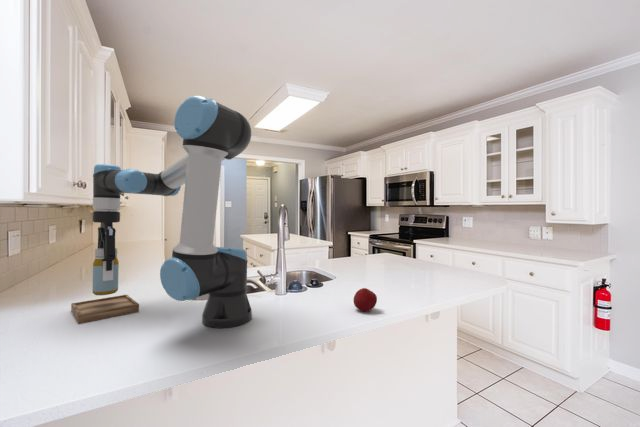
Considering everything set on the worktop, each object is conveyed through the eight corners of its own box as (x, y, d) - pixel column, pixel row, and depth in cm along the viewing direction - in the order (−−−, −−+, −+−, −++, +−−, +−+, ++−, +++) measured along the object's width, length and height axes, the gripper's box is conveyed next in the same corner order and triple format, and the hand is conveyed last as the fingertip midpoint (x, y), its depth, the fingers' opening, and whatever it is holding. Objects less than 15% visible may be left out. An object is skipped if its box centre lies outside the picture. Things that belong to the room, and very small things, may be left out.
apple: (368, 316, 99) (369, 292, 99) (349, 310, 104) (349, 288, 104) (380, 311, 104) (380, 288, 104) (361, 306, 110) (361, 284, 110)
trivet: (138, 311, 100) (139, 304, 100) (78, 324, 88) (78, 315, 88) (126, 301, 111) (126, 294, 111) (71, 311, 99) (71, 303, 99)
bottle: (122, 290, 103) (123, 247, 102) (106, 296, 96) (107, 250, 96) (104, 289, 103) (105, 247, 103) (86, 295, 96) (87, 249, 96)
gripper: (127, 211, 95) (126, 281, 95) (113, 210, 109) (112, 272, 109) (99, 210, 90) (97, 285, 90) (87, 210, 103) (86, 275, 103)
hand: (105, 278), depth 99 cm, fingers closed on bottle, 7 cm apart
